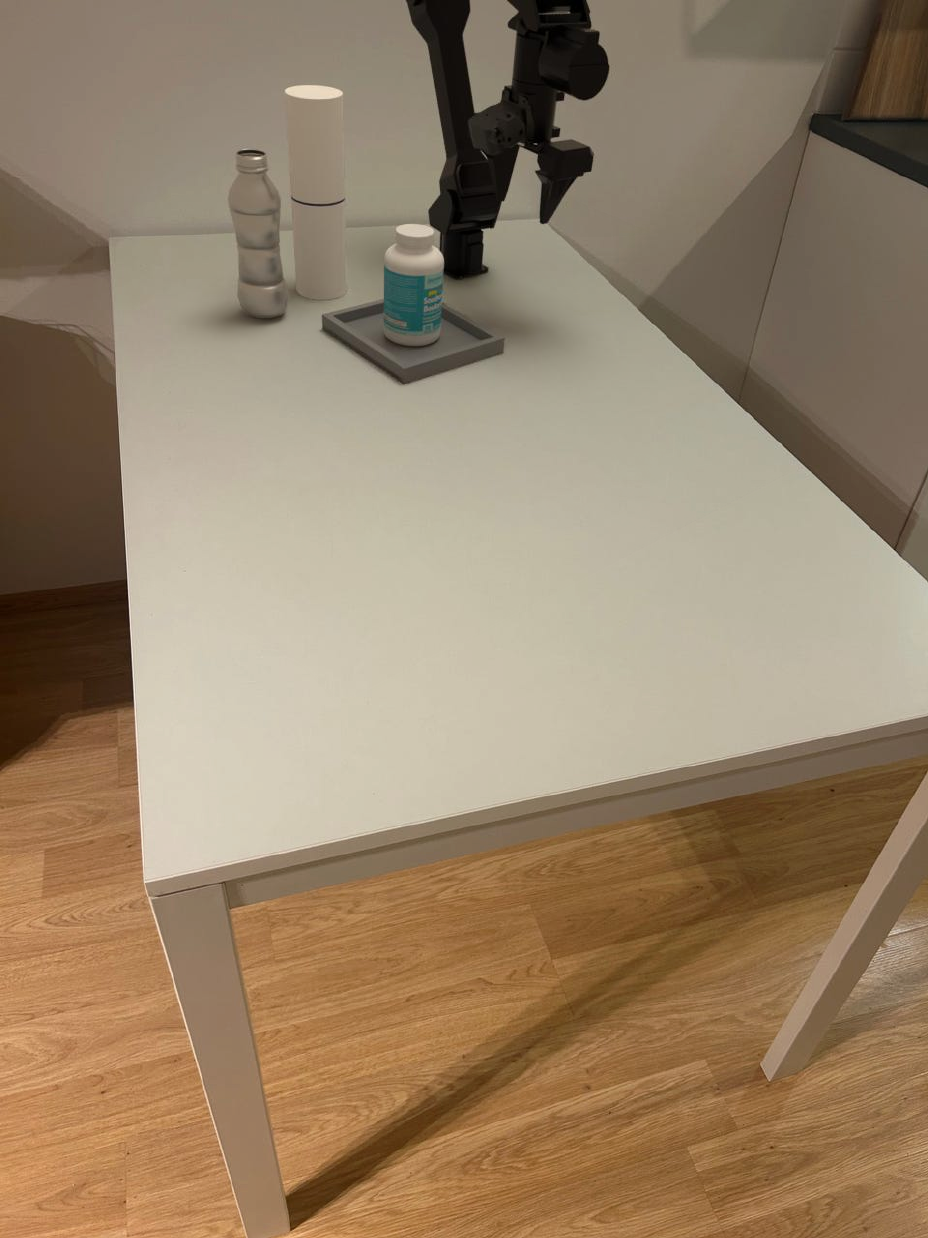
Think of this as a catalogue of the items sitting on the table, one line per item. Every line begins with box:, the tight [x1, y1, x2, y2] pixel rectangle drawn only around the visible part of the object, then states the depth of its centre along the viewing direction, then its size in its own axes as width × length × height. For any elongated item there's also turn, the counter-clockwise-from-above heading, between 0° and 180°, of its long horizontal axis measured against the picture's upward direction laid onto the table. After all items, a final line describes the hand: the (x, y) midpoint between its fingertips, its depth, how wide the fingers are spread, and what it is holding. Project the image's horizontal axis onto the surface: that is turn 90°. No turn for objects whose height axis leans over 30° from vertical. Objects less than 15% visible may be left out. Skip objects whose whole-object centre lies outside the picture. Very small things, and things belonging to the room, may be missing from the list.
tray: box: [321, 298, 506, 385], centre depth 121 cm, size 18×16×2 cm
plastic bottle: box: [227, 148, 289, 319], centre depth 118 cm, size 6×7×20 cm
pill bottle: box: [383, 223, 445, 346], centre depth 117 cm, size 8×7×14 cm
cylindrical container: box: [284, 84, 348, 301], centre depth 124 cm, size 7×7×25 cm
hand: (521, 212), depth 124 cm, fingers open, 9 cm apart
